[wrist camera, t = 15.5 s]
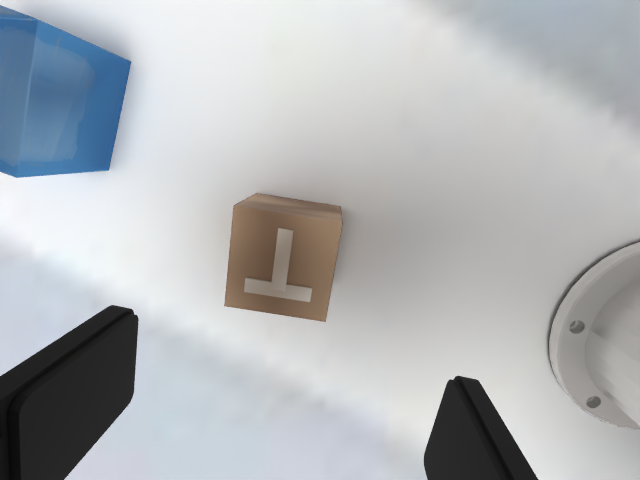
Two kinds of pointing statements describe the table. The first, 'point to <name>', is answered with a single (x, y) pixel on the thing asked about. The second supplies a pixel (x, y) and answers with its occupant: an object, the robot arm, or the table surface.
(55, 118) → the perfume bottle
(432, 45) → the table surface
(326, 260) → the letter cube
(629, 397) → the robot arm
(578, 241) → the table surface
